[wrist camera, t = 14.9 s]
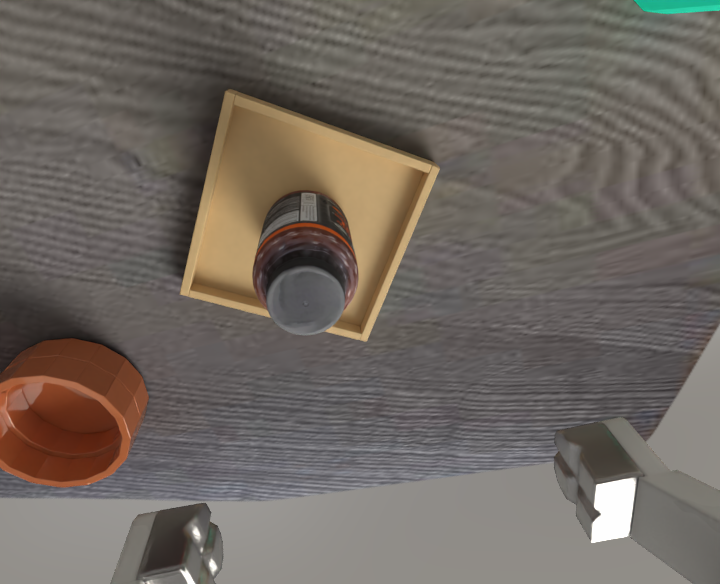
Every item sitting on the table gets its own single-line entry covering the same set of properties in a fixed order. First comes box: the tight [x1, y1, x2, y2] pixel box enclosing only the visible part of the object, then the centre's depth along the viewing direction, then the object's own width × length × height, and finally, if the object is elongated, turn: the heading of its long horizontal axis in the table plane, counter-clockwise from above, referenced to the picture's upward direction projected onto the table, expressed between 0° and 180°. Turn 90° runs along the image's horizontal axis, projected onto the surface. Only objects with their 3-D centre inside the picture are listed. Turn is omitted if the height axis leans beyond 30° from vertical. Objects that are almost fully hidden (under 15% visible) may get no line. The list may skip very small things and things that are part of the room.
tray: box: [180, 89, 440, 342], centre depth 34 cm, size 14×14×2 cm
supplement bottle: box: [252, 190, 359, 335], centre depth 30 cm, size 6×6×11 cm
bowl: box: [0, 338, 149, 487], centre depth 37 cm, size 10×10×5 cm
